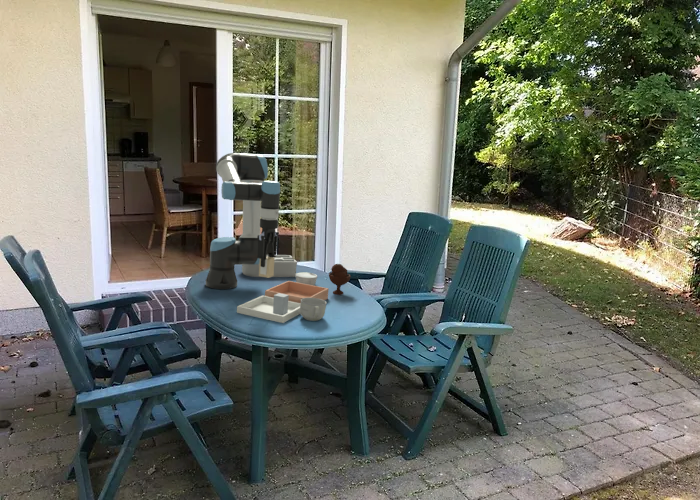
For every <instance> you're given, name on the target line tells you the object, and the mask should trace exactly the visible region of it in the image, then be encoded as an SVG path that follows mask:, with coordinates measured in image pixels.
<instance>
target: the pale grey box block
mask: <svg viewBox="0 0 700 500" xmlns="http://www.w3.org/2000/svg"><path fill="white" fill-rule="evenodd" d="M288 299H289V295H286V294H281V293H278V294H276V295H274V304H273V313H274V314H278V315H284V314H286V313H288Z"/></svg>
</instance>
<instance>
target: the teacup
mask: <svg viewBox="0 0 700 500" xmlns="http://www.w3.org/2000/svg"><path fill="white" fill-rule="evenodd" d="M327 304H328V303H327V301H326V300H322V299H318V298H302V299H301V304H300V314H299V315H301V316H302V318H303V319H304V320H306V321H311V322H312V321H313V322H315V321H316V322H317V321H320V320H321V319H323V318H324V316H325V314H326V309H327Z"/></svg>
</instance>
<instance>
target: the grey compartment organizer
mask: <svg viewBox="0 0 700 500" xmlns="http://www.w3.org/2000/svg"><path fill="white" fill-rule="evenodd" d="M267 256H268V254H267ZM268 257H269V256H268ZM273 258H275V259H274V276H272V277H271V278H296V276H295V275H296V273H297V265H298V261H297V260H296V259H293V256H292V255H290V254H276V257H273ZM241 265H242V267H241V270H242V271H241V272H242V275H245V276H246V277H251V278H263V277H262V276H259V264H255V265H253V264H241Z"/></svg>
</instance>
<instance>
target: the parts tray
mask: <svg viewBox="0 0 700 500" xmlns="http://www.w3.org/2000/svg"><path fill="white" fill-rule="evenodd" d="M273 304H274V298H273V297H268V296H265V295H260V296H258V297H256V298H253V299H251V300H249V301H246V302H244V303H242V304H239V305H237V306H236V313H237V314H241V315H245V316H249V317H254V318H259V319H263V320H267V321H272V322H276V323H280V324H284V323H286V322H287V321H290V320H292V319H293V318H295V317H297V316H298V315H301V314H300V304H301V303H297V302H292V301H288V313H286V314H284V315H278V314H274V313H273Z"/></svg>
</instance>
